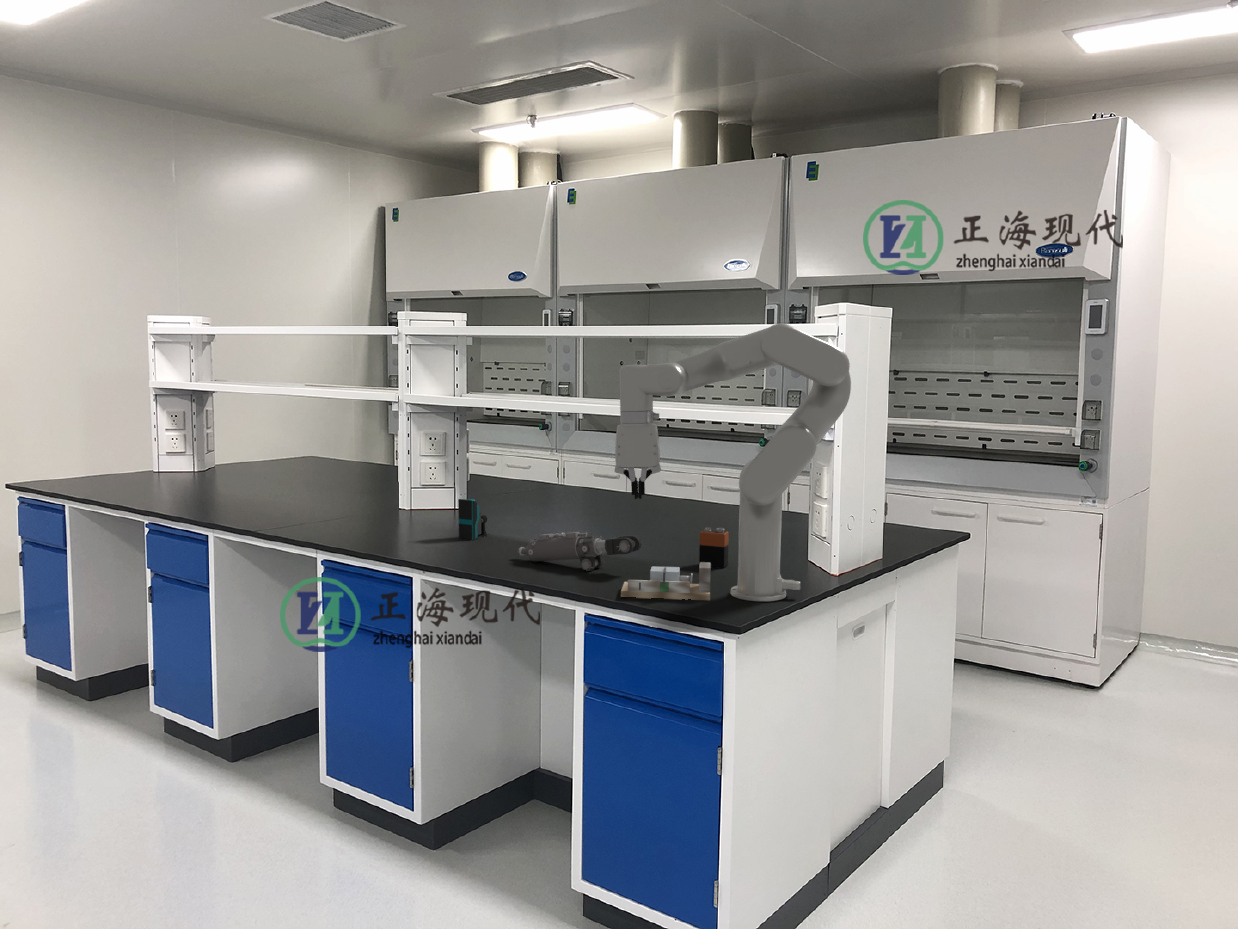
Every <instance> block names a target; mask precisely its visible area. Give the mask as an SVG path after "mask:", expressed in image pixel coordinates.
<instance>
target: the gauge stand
mask: <svg viewBox="0 0 1238 929" xmlns="http://www.w3.org/2000/svg"><path fill="white" fill-rule="evenodd" d="M698 566H699V571H698V574H699V575H698V576H699V577H698V583H692V584H691V581H665V585H664V584H663V581H651V580H650V579H649V580H646V579H645V580H643V579H627V581H624V582H623V584H622V587H621V590H620V598H621V597H636V598H635V599H651V598H664V599H663V600H682V599H685V601H688V599H691V600H690V601H692V600H693V601H711V571H712V570H711V568H712V567H711V563H708V562H700V565H698Z"/></svg>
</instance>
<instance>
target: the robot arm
mask: <svg viewBox="0 0 1238 929" xmlns="http://www.w3.org/2000/svg"><path fill="white" fill-rule="evenodd" d="M778 365H779V366H782V367H783V368H785V369H787V370H789V371H792V372H794V373H796V374H797V375H800V376H802V377H805V378H807V379H808V380H810V381H812V386H811V388H810V391H809V393H808V394H807V396H806V397H805V398H804V399H803V400H802V402H801V403H800V404H799V405H798V407H797V408H796V410H795V409H794V412H793V413H792V414H791V415H789V417H788V418H787V419H786V420H785V421H784V422H783V423H782V424H781V425H780V426H779V427H777V429H776V430H775V431H774V433H773V435H772V437H771V438H770V439H769V441H768V442H767V443H766V444H765V445H764V447H763V448H762V449H761V450H760V451H759V453H757V455H756V456H755V457H754V458H752V459H750V460H749V461H747V462H746V463H745V464H744V465H743V467H742V469H741V471H740V473H739V479H738V480H739V481H738V487H739V488H738V489H739V511H738V512H739V515H738V516H739V517H738V543H737V544H738V547H737V548H738V549H737V550H738V551H737V552H738V553H737V585H734V586H731V588H730V595H731V596H732V597H734V598H736V599H739V600H744V601H749V602H750V601H751V602H775V601H780V600H783V599H785V598H786V596H787V590H792V591H793V590H796V591H797V590H798V591H800V590H801V581H800V580H799V581H797V580H794V579H784V578H782V575H781V573H780V572H781V547H782V546H781V542H782V541H781V540H782V520H783V519H782V517H783V514H782V513H783V512H782V511H783V494H784V492H785V491H786V490H787V489H788V488H789V487H790V485H791V484H792V483H793V482H794V481H795V480H796V479H797V478H798V477H799V476H800V474H801V473H802V472H803V471H804V470H805V468H806V467H807V466H808V465H809V464H810V462H811V461H812V460H813V458H814V456H815V454H816V451H817V446H818V444H819V443H820V441H821V440H822V439H823V438H824V436H825V435H827V433H828V432H829V430H830V429H831V428H832V427H833V426H834V425H835V423H836V422H837V420H839V418H840V417H841V415H842V414H843V412H844V411H845V409H846V408H847V406H848V403H849V400H850V396H851V390H852V378H851V374H850V365H851V364H850V359H849V357H848V355H847V354H846V353H845V351H844V350H842V349H841V348H839V347H837V346H836V345H834V344H830V343H828V342H827V341H824V340H822V339H820V338H818V337H814V336H813V335H810V334H809V333H806V332H804V331H802V330H800V329H798V328H797V327H794V326H792V325H790V324H788V323H775V324H773V325H770V326H769V327H766V328H763V329H760V330H757V331H754V332H751V333H748V334H745V335H741V336H739V337H736V338H732V339H729V340H725V341H723V342H721V343H718V344H716V345H715V346H713V347H711V348H709V349H707V350H705V351H703V352H701V353H697V354H695V355H691V356H688V357H686V358H682V359H679V360H675V361H673V362H665V363H659V364H654V365H653V364H652V365H648V364H625V365H622V366H621V367H620V369H619V373H618V374H619V376H618V377H619V411H620V412H619V415H620V416H619V417H620V418H619V419H620V424H617V426H616V434H615V450H614V451H615V453H614V454H615V455H614V457H615V458H614V459H615V467H614V473H616V474H619V475H624V476H625V477H626V478H627V479H628V480H629V481H630V483H631V496H634V499H635V500H637V499H639V500H642V498H643V495H646V491H645V490H646V486H645V482H646V480H647V479H649V477H650V476H651V475H653V474H657V473H660V472H661V471H662V468H661V465H660V461H661V458H660V457H661V452H660V451H661V450H660V440H659V439H660V438H659V431H658V426H657V424H656V423H654V421H656V420H660V413H658V412H657V413H656V412H655V411H654V404H653V403H654V400H653V398H654V396H658V397H659V396H660V397H668V398H669V397H674V396H676V395H680V394H683V393H685V392H688V391H690V390H695V389H697V388H701V387H704V386H707V385H710V384H715V383H717V382H718V383H719V382H726V381H731V380H734V379H738V378H741V377H744V376H747V375H750V374H753V373H756V372H759V371H761V370H766V369H769V368H772V367H775V366H778ZM635 469H641V471H640V476H639V478H637V477H636V471H635Z"/></svg>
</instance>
